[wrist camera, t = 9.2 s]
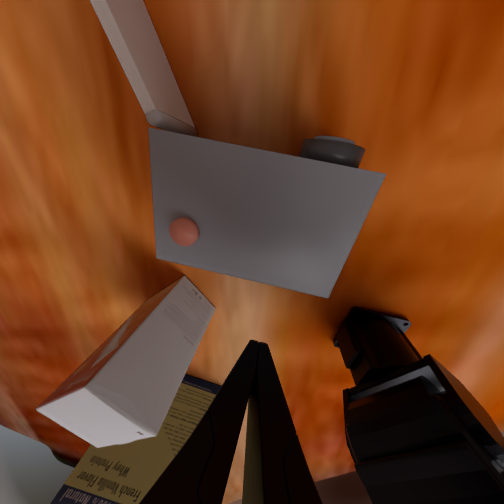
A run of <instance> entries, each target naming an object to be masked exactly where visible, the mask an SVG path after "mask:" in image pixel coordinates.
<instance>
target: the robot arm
mask: <svg viewBox="0 0 504 504" xmlns="http://www.w3.org/2000/svg"><path fill="white" fill-rule="evenodd" d="M355 311H357V312H355ZM410 325H411V322H410V321H409V320H408V319H406V318H402V317H398V316H394V315H389V314H385V313H381V312H376V311H372V310H368V309H364V308H359V307H353V308H352V309H351V310H350V312H349V314H348V316H347V317H346V319H345V321H344V322H343V323H342V325H341V327H340V329H339V330H338V332H337V334H336V337H335V339H334V341H333V343H334V346H335V347H338V348H340V351H341V354H342V357H343V360H344V363H345V366H346V367H347V368H348V369H350V370H351V373H352V376H353V379H354V382H355V385H356V386H355V387H352V388H350V389H348V388H347V389H344V390H343V403H344V419H345V433H346V440H347V446H348V448H349V450H350V453H351V456H352V458H353V461H354V463H355V469H356V471H357V473H358V475H359V477H360V478H361V480H362V482H363V484H364V486H365V487H366V490H367V492H368V494H369V496H370V499H371V501H372V503H373V504H504V437H503V435H502V434H501V432H500V431H499V429H498V428H497V426H496V425H495V423H494V422H493V420H492V419H491V417H490V416H489V414H488V413H487V412H486V410H485V409H484V408H483V407H482V406H481V405H480V404H479V402H478V401H477V400H476V399H475V398H474V397H473V396H472V394H471V393H470V392H469V391H468V390H467V389H466V388H465V386H464V385H463V384H462V383H461V382H460V381H459V380H458V379H457V378H456V377H455V376H453V375H452V374H451V373H450V372H449V371H448V370H447V369H446V368H445V367H443V366H442V365H441V364H440V363H439V362H438V361H437V360H436V359H435V358H433V357H432V356H431V355H430V354H429V355H426V356H424V358H422V357H421V356H420V354H419V353H418V351H417V350H416V349H415V347H414V346H413V345H412V343H411V342H410V341H409V339H408V338H407V337H406V335H405V334H404V333H405V332H406V330H407V329H408V328H409V327H410ZM248 399H249V400H248ZM247 403H248V416H247V433H246V449H245V465H244V481H243V497H242V504H322V501H321V499H320V496H319V494H318V491H317V489H316V486H315V484H314V481H313V479H312V476H311V474H310V471H309V468H308V465H307V462H306V460H305V457H304V454H303V451H302V448H301V445H300V442H299V439H298V436H297V435H296V430H295V427H294V424H293V421H292V418H291V414H290V411H289V408H288V405H287V402H286V399H285V396H284V393H283V390H282V387H281V384H280V381H279V377H278V374H277V371H276V368H275V365H274V362H273V359H272V356H271V353H270V350H269V347H268V344H267V343H263V342H258V341H255V340H250V341H249V343H248V344H247V346H246V348H245V349H244V351H243V352H242V354H241V356H240V357H239V359H238V361H237V362H236V364H235V365H234V367H233V369H232V370H231V372H230V373H229V375H228V377H227V378H226V380H225V382H224V383H223V385H222V386H221V388H220V390H219V391H218V393H217V395H216V396H215V398H214V399H213V401H212V403H211V404H210V406H209V407H208V410H207V411H206V412H205V414H204V415H203V417H202V419H201V420H200V422H199V423H198V425H197V426H196V428H195V429H194V431H193V432H192V434H191V435H190V437H189V438H188V440H187V441H186V442H185V444H184V445H183V446H182V448H181V449H180V451H179V452H178V453H177V455H176V456H175V457H174V459H173V460H172V461H171V462H170V464H169V465H168V466H167V468H166V469H165V470H164V472H163V473H162V474H161V475H160V477H159V478H158V479H157V481H156V482H155V483H154V485H153V486H152V487H151V489H150V490H149V491H148V492H147V494H146V495H145V496H144V498H143V499H142V500H141V501H140V503H139V504H222V500H223V496H224V492H225V488H226V485H227V481H228V477H229V473H230V469H231V465H232V461H233V457H234V453H235V450H236V446H237V442H238V438H239V434H240V430H241V426H242V422H243V418H244V415H245V411H246V407H247Z"/></svg>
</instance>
